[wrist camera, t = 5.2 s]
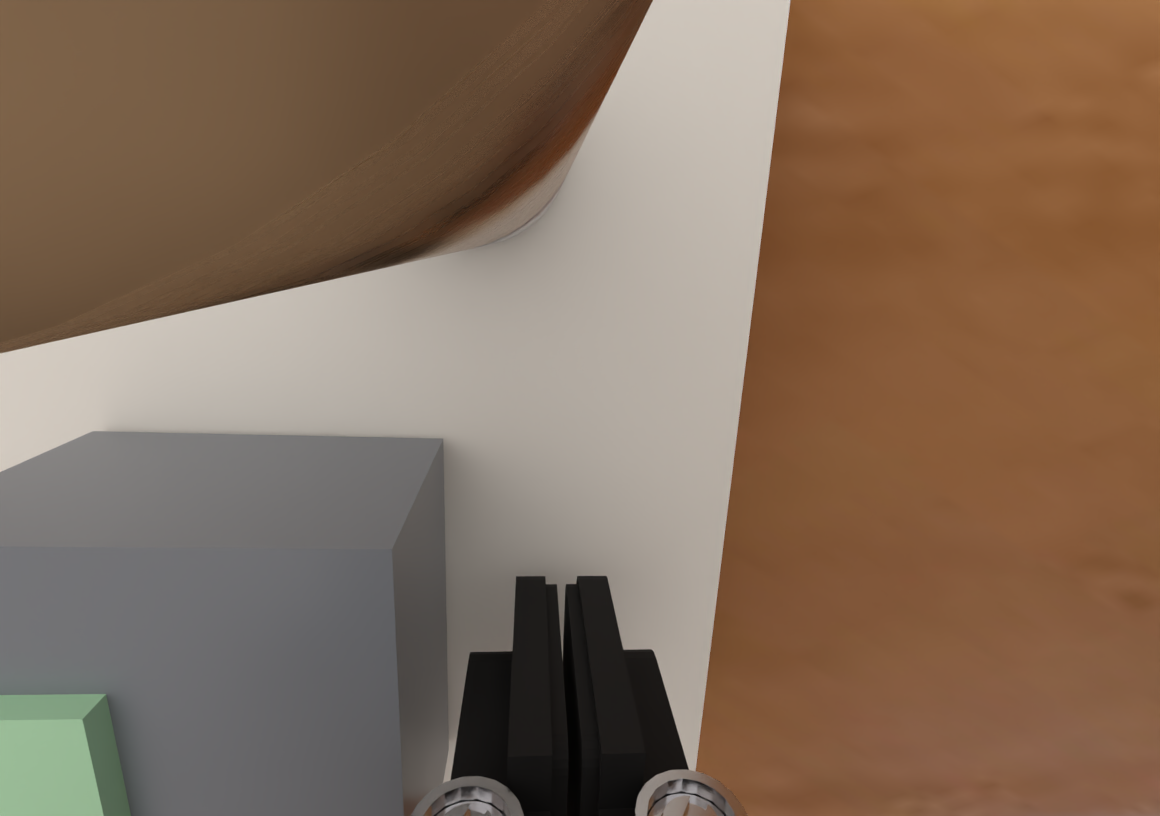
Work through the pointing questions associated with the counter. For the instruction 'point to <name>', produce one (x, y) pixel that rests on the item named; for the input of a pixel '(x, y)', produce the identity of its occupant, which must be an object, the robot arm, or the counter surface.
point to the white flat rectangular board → (517, 359)
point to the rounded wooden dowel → (275, 143)
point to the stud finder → (223, 626)
